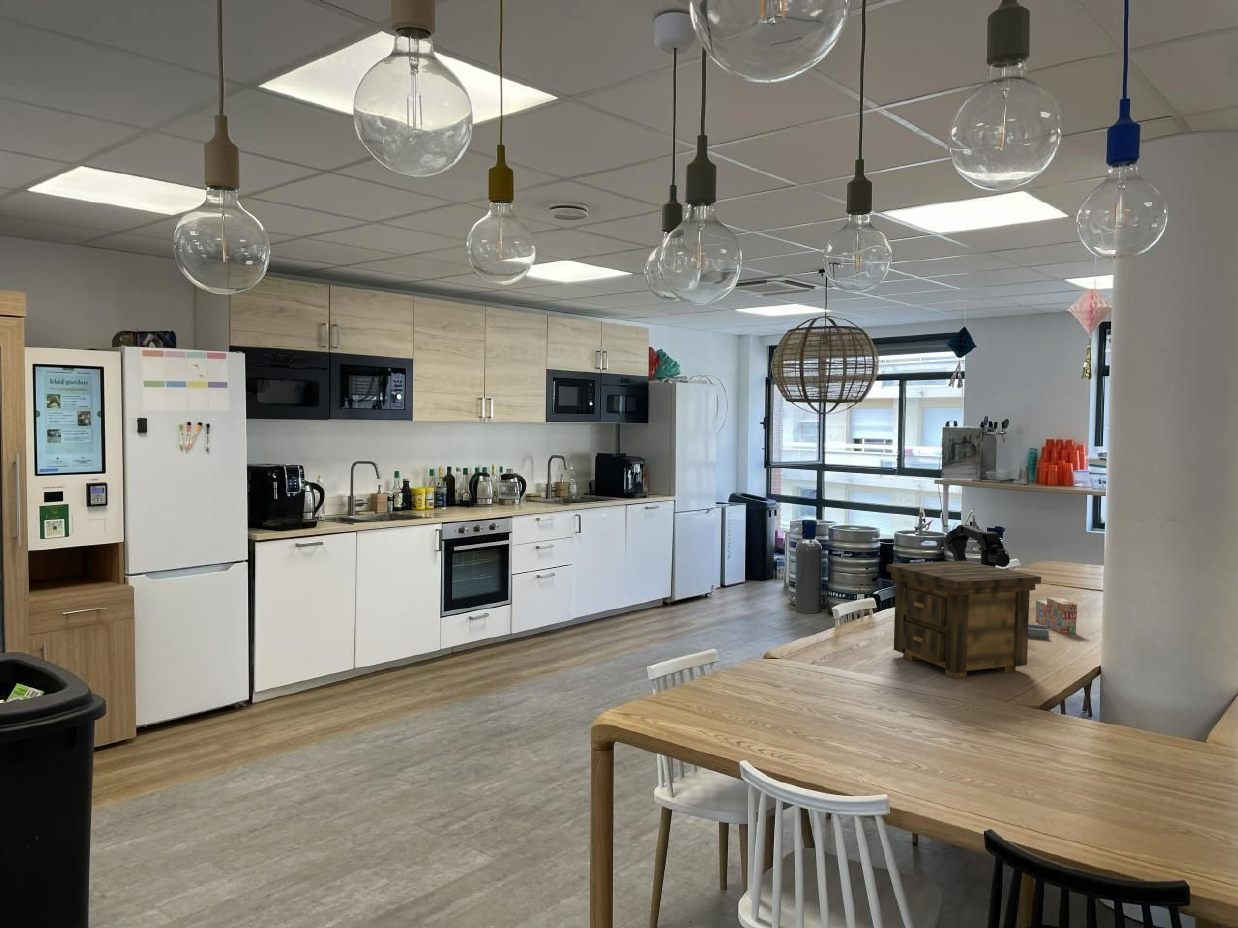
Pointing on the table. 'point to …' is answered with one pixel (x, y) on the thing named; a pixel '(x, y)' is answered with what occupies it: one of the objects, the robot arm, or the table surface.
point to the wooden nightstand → (962, 615)
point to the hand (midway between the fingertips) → (986, 601)
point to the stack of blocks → (1057, 614)
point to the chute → (1038, 631)
